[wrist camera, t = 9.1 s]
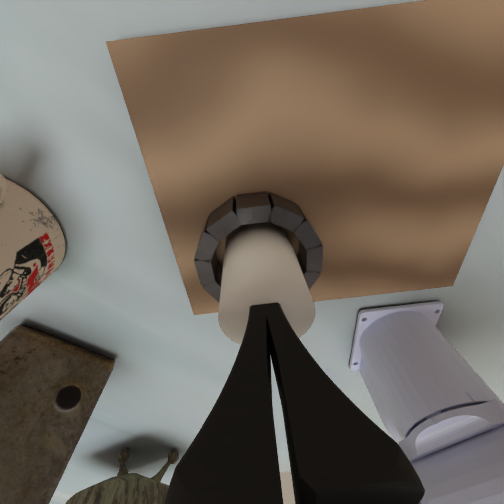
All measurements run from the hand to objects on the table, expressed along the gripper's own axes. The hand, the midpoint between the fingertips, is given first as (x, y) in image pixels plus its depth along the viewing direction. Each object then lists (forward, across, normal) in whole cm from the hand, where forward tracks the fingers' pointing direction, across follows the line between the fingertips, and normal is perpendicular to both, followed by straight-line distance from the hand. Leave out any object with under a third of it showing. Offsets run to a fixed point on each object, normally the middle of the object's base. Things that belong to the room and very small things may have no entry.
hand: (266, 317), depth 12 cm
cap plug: (+7, 0, 0) cm, 7 cm away
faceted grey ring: (+7, 0, 0) cm, 7 cm away
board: (+8, -5, -3) cm, 10 cm away
